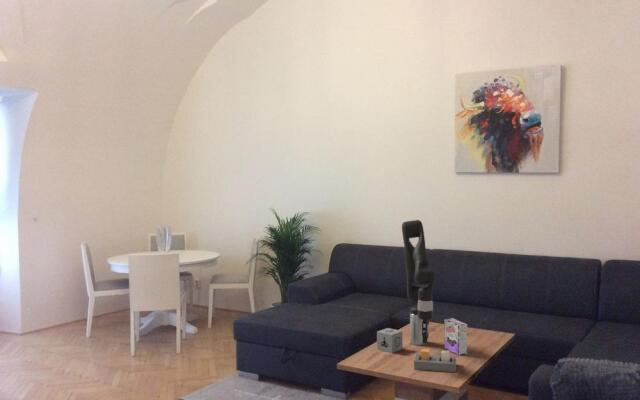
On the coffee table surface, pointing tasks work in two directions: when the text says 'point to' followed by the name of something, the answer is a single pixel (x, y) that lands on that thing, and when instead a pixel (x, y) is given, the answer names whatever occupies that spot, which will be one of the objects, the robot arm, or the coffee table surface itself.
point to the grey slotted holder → (436, 362)
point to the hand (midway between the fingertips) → (425, 340)
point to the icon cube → (389, 340)
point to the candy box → (455, 336)
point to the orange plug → (425, 354)
